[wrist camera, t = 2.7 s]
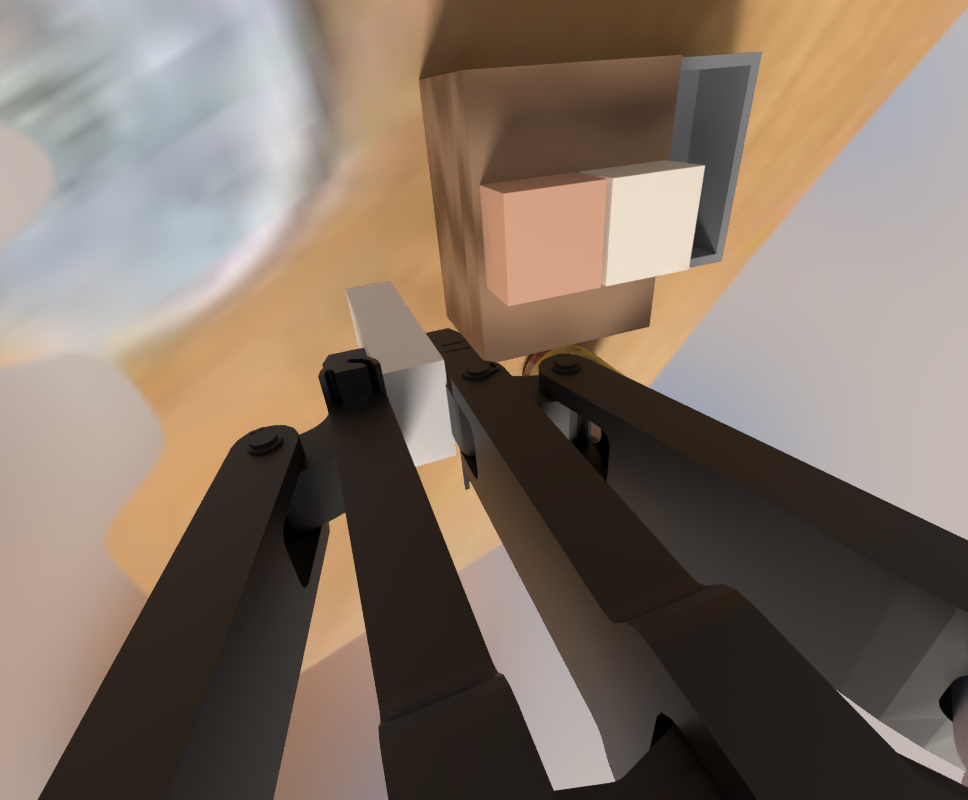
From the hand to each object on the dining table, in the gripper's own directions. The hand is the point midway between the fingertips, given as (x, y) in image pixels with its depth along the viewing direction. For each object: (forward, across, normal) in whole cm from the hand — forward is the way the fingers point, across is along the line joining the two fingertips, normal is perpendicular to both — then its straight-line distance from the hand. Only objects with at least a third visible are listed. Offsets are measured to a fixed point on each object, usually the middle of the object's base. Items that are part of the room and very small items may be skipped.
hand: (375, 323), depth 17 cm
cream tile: (+7, +14, 0) cm, 16 cm away
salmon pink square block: (+7, +9, 0) cm, 12 cm away
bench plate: (+15, +12, 0) cm, 19 cm away
